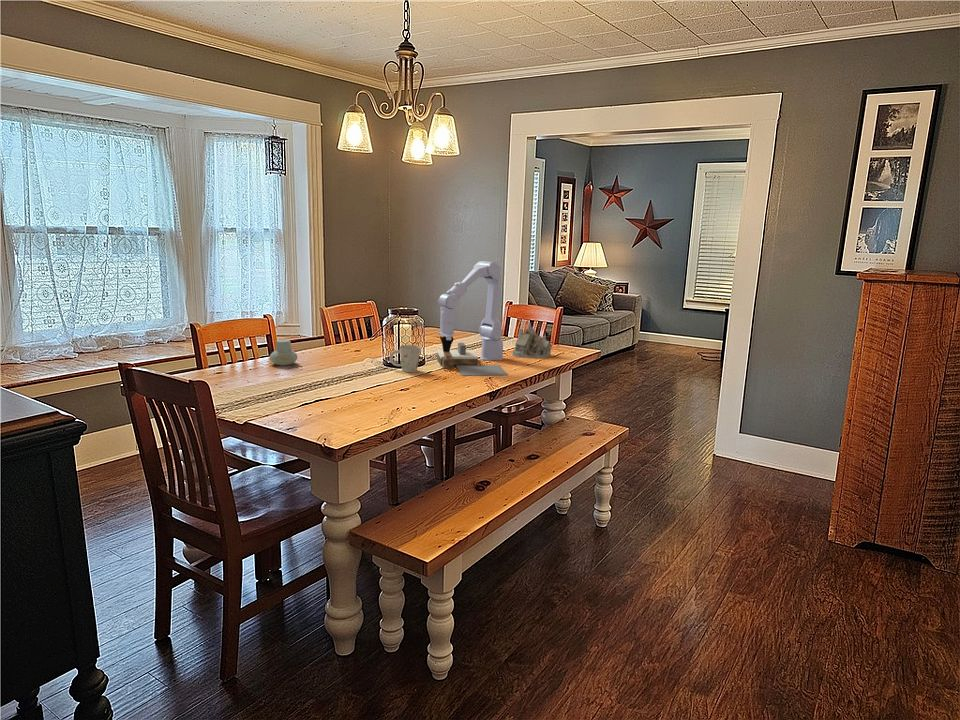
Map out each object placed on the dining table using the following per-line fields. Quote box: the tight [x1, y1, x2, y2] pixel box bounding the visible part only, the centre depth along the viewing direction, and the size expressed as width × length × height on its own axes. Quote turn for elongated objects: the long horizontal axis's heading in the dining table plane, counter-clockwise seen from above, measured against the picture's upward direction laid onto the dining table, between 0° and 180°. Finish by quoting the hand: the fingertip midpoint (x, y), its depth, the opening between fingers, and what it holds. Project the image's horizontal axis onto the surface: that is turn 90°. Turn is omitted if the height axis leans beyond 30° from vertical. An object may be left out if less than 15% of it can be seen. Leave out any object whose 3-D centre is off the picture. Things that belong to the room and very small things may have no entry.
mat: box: [455, 364, 509, 377], centre depth 266 cm, size 19×17×1 cm
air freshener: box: [269, 339, 298, 367], centre depth 263 cm, size 11×8×10 cm
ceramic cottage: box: [512, 322, 553, 359], centre depth 299 cm, size 16×16×15 cm
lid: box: [436, 342, 479, 360], centre depth 279 cm, size 16×14×6 cm
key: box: [444, 352, 452, 360], centre depth 268 cm, size 2×8×2 cm, turn 11°
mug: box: [389, 344, 421, 373], centre depth 260 cm, size 8×13×10 cm, turn 89°
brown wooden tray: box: [436, 352, 479, 370], centre depth 277 cm, size 16×20×4 cm
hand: (446, 353), depth 273 cm, fingers closed
